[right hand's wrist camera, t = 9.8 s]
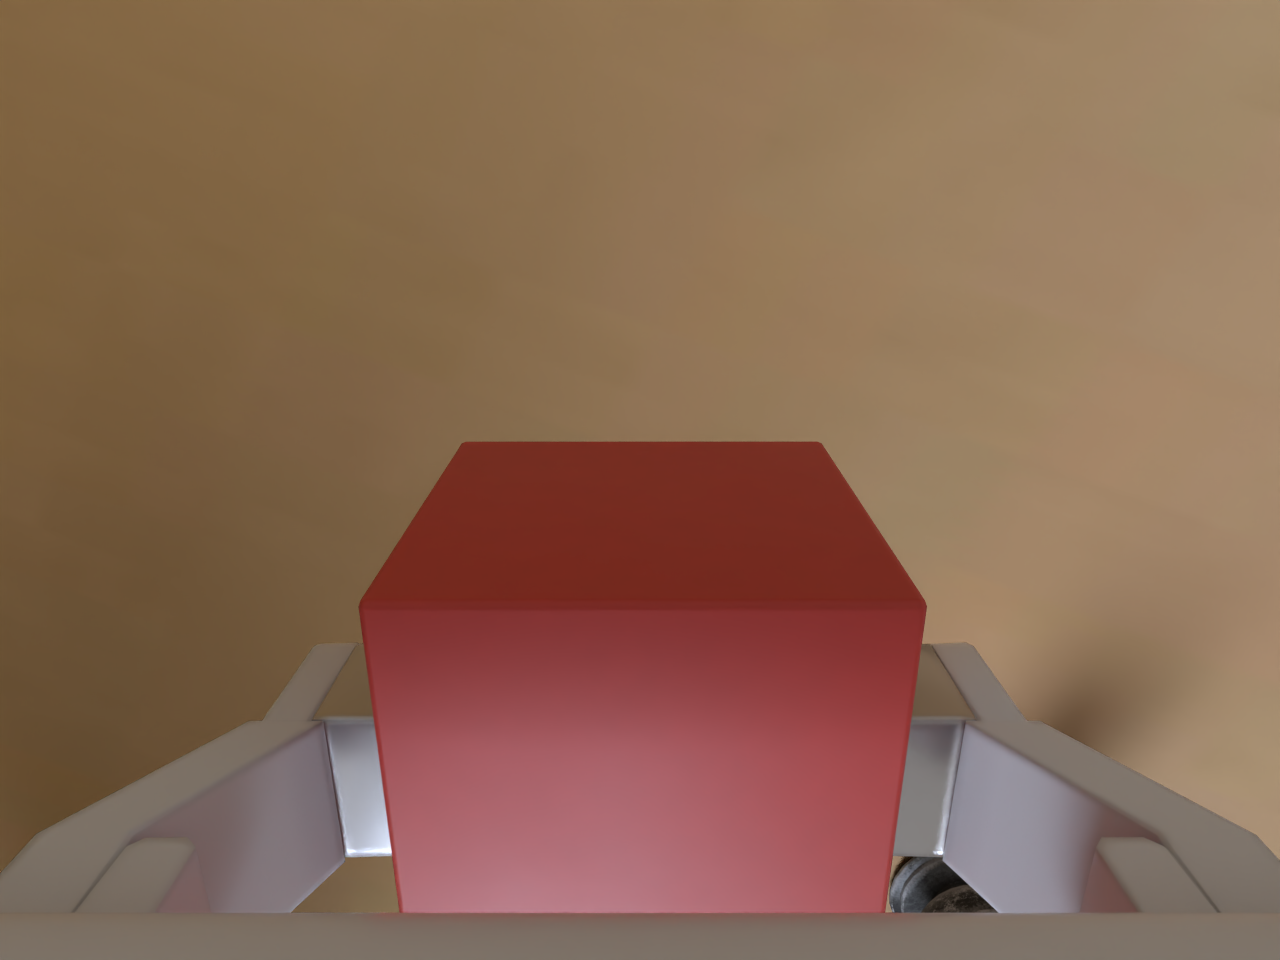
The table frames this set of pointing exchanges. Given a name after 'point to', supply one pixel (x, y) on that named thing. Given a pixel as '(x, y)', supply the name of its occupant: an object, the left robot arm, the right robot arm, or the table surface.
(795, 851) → the red cube
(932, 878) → the salt shaker
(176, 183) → the table surface
